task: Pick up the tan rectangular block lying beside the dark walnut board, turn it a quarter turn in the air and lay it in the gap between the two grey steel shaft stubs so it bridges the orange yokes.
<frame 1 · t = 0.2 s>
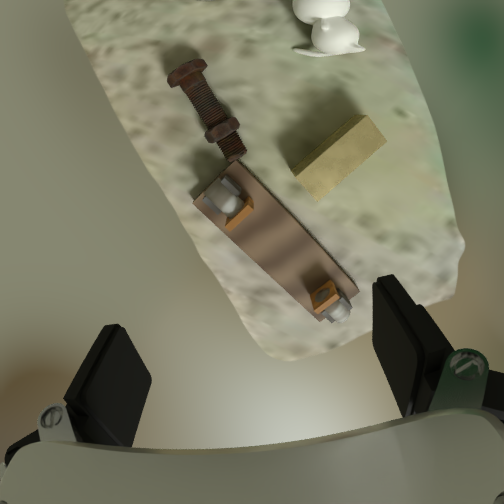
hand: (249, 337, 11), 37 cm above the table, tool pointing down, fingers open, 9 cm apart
cat figurine: (315, 26, 35), on the table
tan rectangular block: (332, 153, 43), on the table
bolt: (212, 112, 41), on the table
shaft base: (283, 247, 49), on the table
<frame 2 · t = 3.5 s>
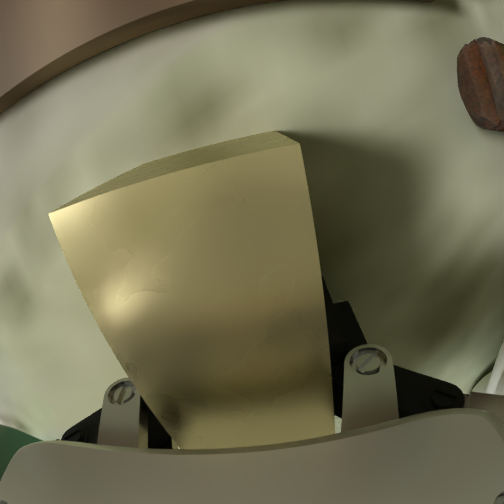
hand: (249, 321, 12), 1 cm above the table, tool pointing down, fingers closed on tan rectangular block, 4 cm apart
tan rectangular block: (250, 312, 12), on the table, touching gripper
shaft base: (29, 0, 6), on the table
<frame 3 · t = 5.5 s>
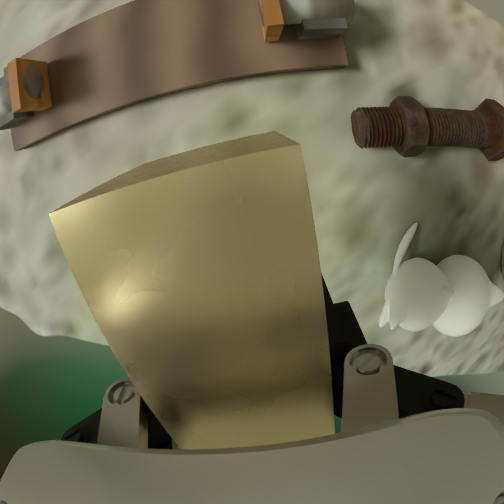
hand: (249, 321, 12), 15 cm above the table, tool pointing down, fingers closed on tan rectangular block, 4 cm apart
cat figurine: (424, 267, 28), on the table
tan rectangular block: (250, 312, 12), point 15 cm above the table, touching gripper
bolt: (423, 123, 22), on the table
shaft base: (148, 48, 20), on the table
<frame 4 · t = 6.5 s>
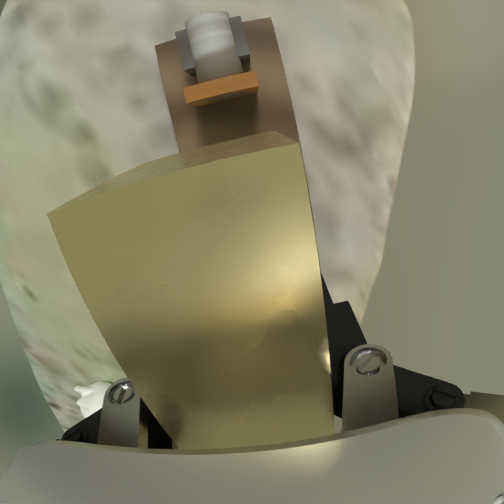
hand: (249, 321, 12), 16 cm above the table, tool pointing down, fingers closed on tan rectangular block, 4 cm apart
cat figurine: (124, 398, 37), on the table
tan rectangular block: (249, 313, 12), point 15 cm above the table, touching gripper
shaft base: (254, 206, 26), on the table
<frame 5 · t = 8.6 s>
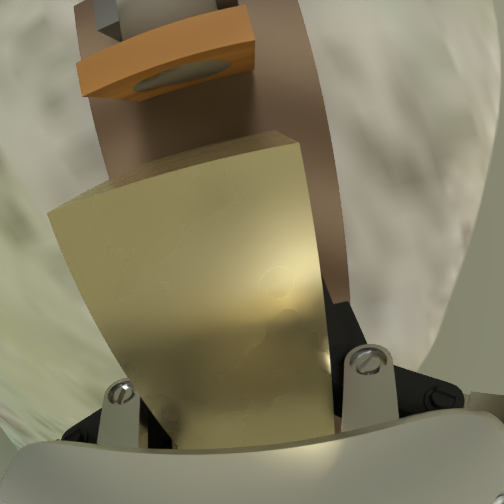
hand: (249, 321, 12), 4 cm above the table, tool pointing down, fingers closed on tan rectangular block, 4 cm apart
tan rectangular block: (249, 312, 12), point 3 cm above the table, touching gripper
shaft base: (249, 276, 15), on the table
when the fingers open (2 cm above the table, at t = 9.3 s): tan rectangular block stays where it is, resting on shaft base.
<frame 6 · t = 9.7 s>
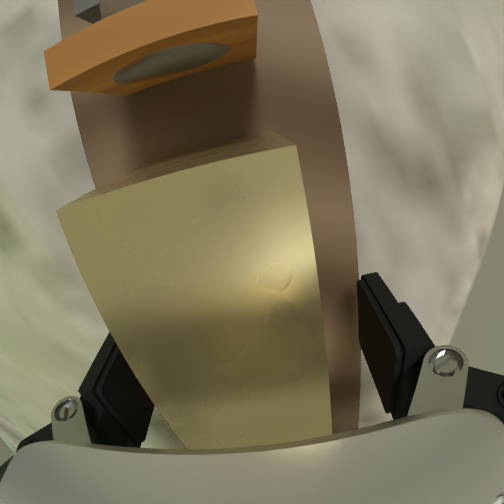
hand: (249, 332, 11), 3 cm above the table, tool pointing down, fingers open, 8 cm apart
tan rectangular block: (249, 309, 12), point 1 cm above the table, touching shaft base
shaft base: (250, 289, 14), on the table
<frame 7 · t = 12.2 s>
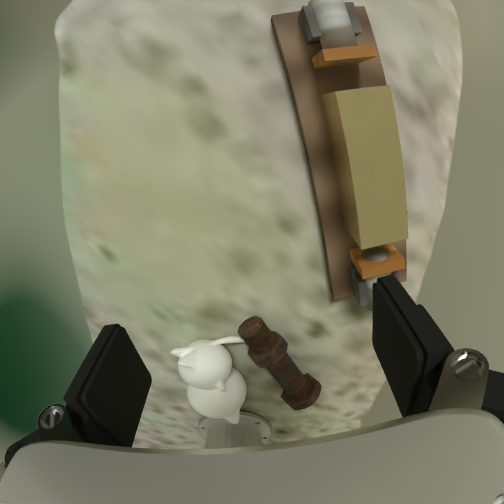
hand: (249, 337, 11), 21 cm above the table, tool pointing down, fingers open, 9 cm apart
cat figurine: (220, 357, 40), on the table, touching bolt
tan rectangular block: (356, 158, 27), point 1 cm above the table, touching shaft base
bolt: (278, 350, 40), on the table, touching cat figurine
shaft base: (352, 156, 28), on the table
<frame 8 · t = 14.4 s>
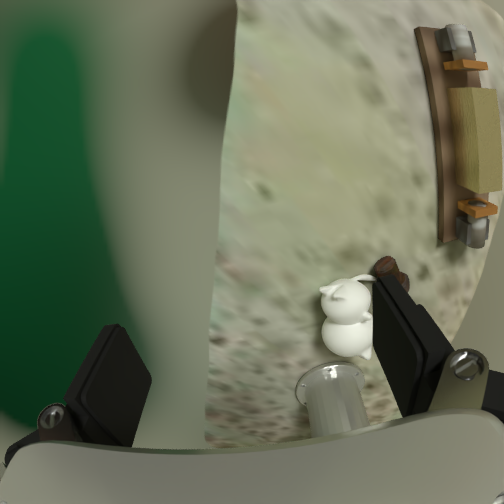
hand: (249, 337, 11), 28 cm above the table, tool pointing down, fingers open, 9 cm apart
cat figurine: (346, 300, 44), on the table
tan rectangular block: (465, 135, 32), point 1 cm above the table, touching shaft base
bolt: (394, 292, 44), on the table
shaft base: (459, 134, 33), on the table
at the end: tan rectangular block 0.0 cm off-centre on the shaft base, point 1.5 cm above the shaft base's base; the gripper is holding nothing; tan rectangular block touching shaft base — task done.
